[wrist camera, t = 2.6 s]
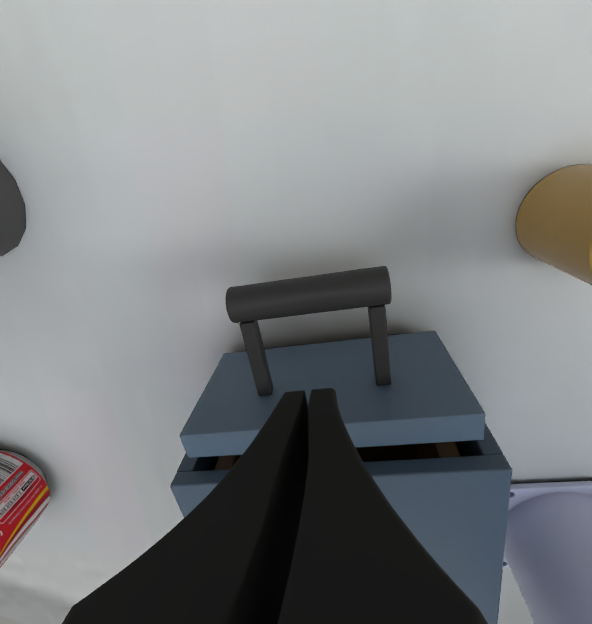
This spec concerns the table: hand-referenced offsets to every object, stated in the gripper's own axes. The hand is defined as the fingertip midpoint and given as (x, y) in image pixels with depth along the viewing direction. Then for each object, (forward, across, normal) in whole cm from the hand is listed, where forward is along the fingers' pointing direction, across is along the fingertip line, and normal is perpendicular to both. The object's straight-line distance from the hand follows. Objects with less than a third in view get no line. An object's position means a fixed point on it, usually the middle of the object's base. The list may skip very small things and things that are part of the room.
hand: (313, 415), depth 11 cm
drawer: (+8, 0, +5) cm, 9 cm away
